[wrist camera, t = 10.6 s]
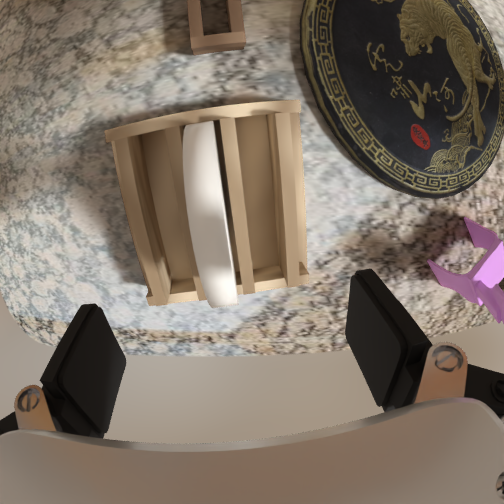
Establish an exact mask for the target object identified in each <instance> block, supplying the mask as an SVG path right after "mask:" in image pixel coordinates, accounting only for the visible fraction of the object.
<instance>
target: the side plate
mask: <svg viewBox="0 0 504 504" xmlns="http://www.w3.org/2000/svg"><path fill="white" fill-rule="evenodd" d="M183 175H184V187H185V198H186V206H187V214H188V221H189V227H190V233H191V239H192V244H193V250H194V254H195V259H196V264H197V268H198V272H199V276H200V280H201V283H202V287H203V290H204V293H205V296H206V298H207V301H208V303H209V305H210V306H211V307H212V308H218V307H225V306H232V305H239V303H238V293H237V285H236V277H235V270H234V263H233V255H232V248H231V241H230V233H229V226H228V219H227V212H226V205H225V197H224V190H223V183H222V176H221V169H220V162H219V155H218V148H217V141H216V134H215V128H214V123H213V121H209V122H202V123H196V124H190V125H186V126H185V129H184V135H183Z"/></svg>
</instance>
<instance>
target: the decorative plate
mask: <svg viewBox="0 0 504 504" xmlns="http://www.w3.org/2000/svg"><path fill="white" fill-rule="evenodd" d="M300 44H301V52H302V57H303V61H304V66H305V71H306V76H307V79H308V82H309V84H310V87H311V89H312V92H313V94H314V97H315V99H316V102H317V105H318V107H319V109H320V111H321V112H322V114H323V116H324V118H325V119H326V121H327V123H328V125H329V126H330V128H331V130H332V132H333V134H334V135H335V136H336V138H337V139H338V140H339V141H340V143H341V144H342V145H343V146H344V148H345V149H346V150H347V151H348V153H349V154H350V155H351V157H352V158H353V159H354V160H355V161H356V162H358V163H359V164H360V165H361V166H362V167H363V168H364V169H365V170H366V171H367V172H369V173H370V174H371V175H372V176H373V177H375V178H376V179H378V180H380V181H381V182H383V183H385V184H386V185H388V186H389V187H391V188H393V189H395V190H397V191H400V192H403V193H406V194H409V195H412V196H415V197H420V198H432V199H438V198H444V197H449V196H454V195H456V194H458V193H460V192H462V191H464V190H466V189H468V188H469V187H470V186H472V185H473V184H474V183H475V182H476V181H478V180H479V179H480V178H481V177H482V176H483V174H484V173H485V172H486V171H487V169H488V168H489V167H490V165H491V164H492V162H493V160H494V158H495V156H496V154H497V152H498V150H499V147H500V144H501V141H502V138H503V134H504V71H503V68H502V64H501V61H500V57H499V54H498V51H497V49H496V46H495V44H494V42H493V40H492V37H491V35H490V33H489V31H488V29H487V28H486V26H485V24H484V23H483V21H482V19H481V18H480V16H479V15H478V13H477V12H476V11H475V9H474V8H473V7H472V5H471V4H470V3H469V2H468V0H305V1H304V6H303V10H302V14H301V19H300Z"/></svg>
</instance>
